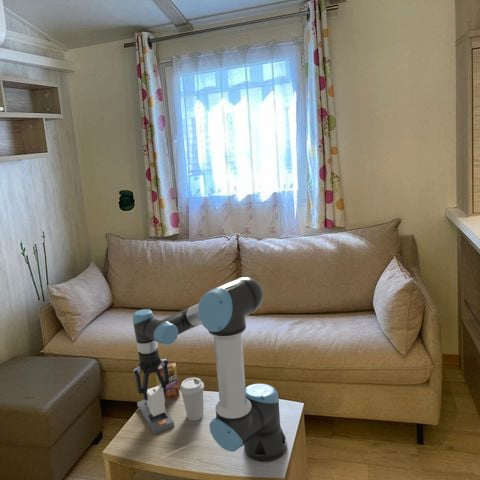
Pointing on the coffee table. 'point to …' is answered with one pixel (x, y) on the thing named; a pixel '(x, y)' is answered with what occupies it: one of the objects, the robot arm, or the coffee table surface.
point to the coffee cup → (193, 398)
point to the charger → (156, 401)
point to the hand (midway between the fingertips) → (156, 403)
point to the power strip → (155, 418)
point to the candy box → (172, 387)
